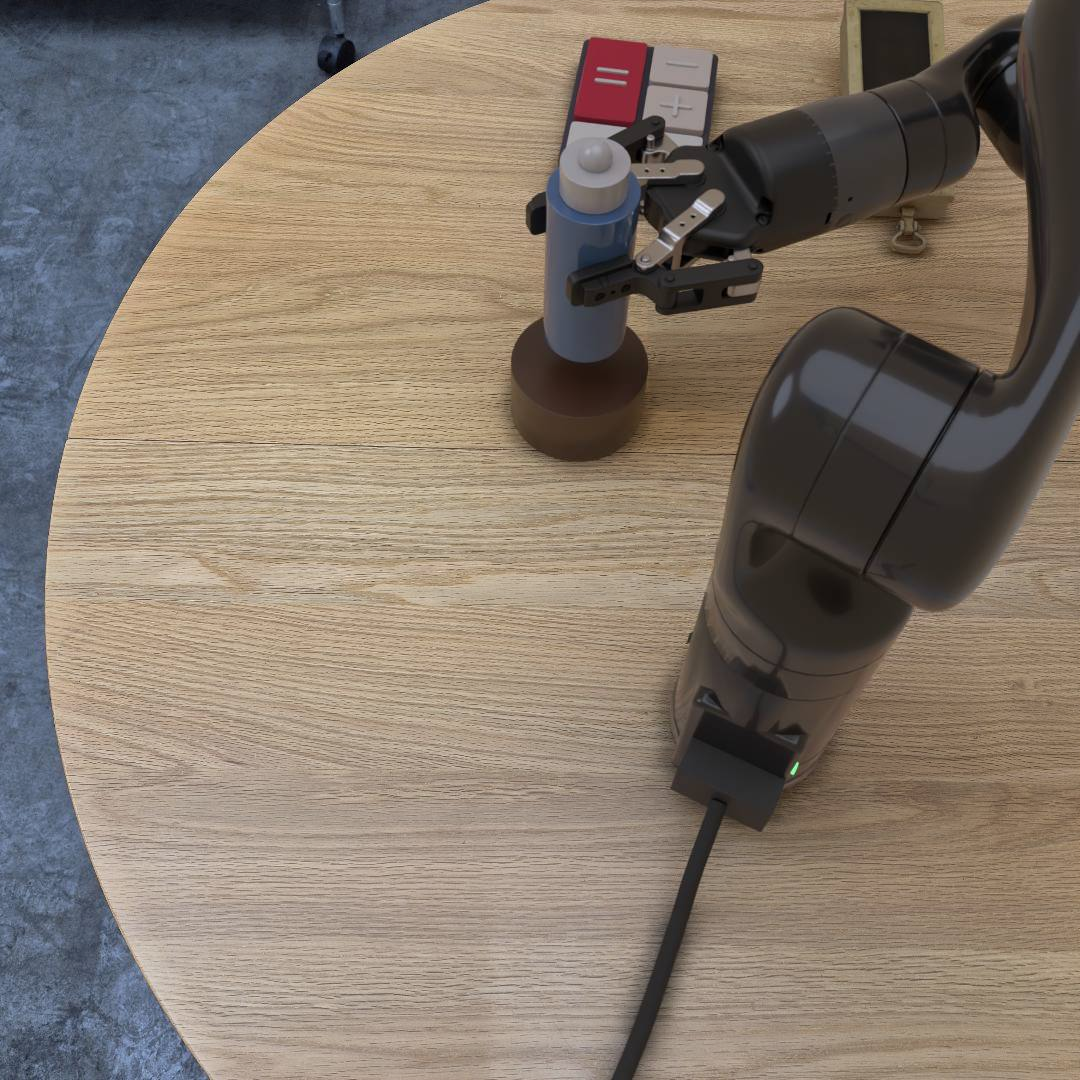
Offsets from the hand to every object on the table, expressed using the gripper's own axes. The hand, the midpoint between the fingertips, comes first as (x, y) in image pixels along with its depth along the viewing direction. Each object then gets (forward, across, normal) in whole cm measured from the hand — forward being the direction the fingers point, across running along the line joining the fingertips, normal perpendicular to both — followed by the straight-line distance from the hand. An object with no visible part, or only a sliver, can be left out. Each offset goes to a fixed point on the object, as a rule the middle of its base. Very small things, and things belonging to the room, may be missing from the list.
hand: (549, 254), depth 68 cm
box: (-35, -13, +17) cm, 41 cm away
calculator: (-18, -22, +16) cm, 33 cm away
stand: (-2, 0, +16) cm, 16 cm away
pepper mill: (-3, 0, +8) cm, 8 cm away
